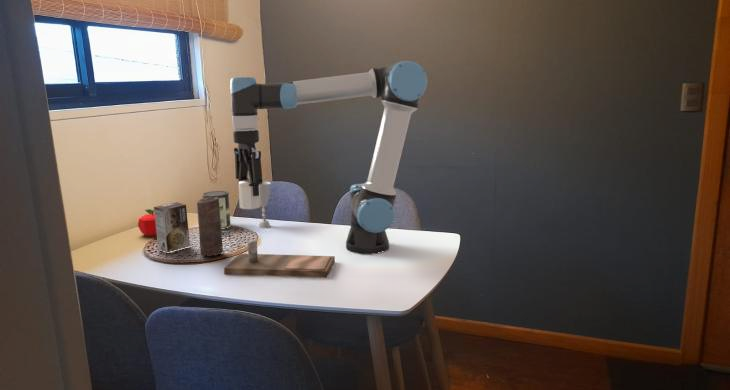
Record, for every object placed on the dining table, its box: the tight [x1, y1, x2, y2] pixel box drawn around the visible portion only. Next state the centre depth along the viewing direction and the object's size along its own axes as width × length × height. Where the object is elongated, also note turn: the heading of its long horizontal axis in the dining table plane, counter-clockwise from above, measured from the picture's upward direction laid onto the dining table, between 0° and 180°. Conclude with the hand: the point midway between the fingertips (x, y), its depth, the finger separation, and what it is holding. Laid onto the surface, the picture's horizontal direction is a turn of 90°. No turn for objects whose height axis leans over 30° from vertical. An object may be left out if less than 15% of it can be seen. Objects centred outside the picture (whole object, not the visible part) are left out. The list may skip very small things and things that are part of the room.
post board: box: [223, 240, 336, 278], centre depth 166 cm, size 32×14×8 cm, turn 83°
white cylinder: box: [237, 179, 262, 210], centre depth 163 cm, size 6×6×8 cm
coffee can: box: [201, 190, 232, 229], centre depth 214 cm, size 10×10×14 cm
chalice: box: [258, 181, 272, 229], centre depth 213 cm, size 7×7×18 cm
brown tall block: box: [196, 197, 224, 257], centre depth 178 cm, size 8×7×20 cm
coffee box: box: [153, 201, 191, 252], centre depth 185 cm, size 9×6×16 cm
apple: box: [137, 209, 157, 237], centre depth 205 cm, size 11×11×10 cm
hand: (250, 204), depth 164 cm, fingers closed on white cylinder, 6 cm apart
